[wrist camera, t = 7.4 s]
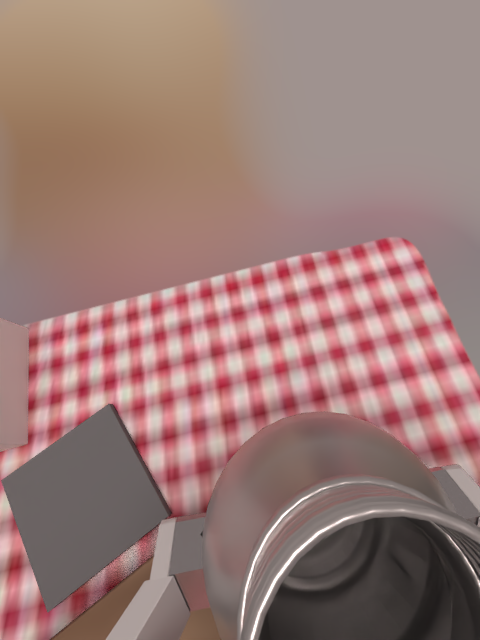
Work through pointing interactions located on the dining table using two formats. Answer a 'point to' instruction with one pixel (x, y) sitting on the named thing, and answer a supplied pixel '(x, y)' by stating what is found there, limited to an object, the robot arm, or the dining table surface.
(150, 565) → the slab
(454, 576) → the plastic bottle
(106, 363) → the dining table surface
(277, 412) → the dining table surface
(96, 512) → the pad
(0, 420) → the milk
